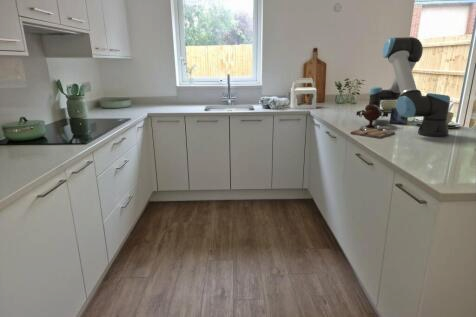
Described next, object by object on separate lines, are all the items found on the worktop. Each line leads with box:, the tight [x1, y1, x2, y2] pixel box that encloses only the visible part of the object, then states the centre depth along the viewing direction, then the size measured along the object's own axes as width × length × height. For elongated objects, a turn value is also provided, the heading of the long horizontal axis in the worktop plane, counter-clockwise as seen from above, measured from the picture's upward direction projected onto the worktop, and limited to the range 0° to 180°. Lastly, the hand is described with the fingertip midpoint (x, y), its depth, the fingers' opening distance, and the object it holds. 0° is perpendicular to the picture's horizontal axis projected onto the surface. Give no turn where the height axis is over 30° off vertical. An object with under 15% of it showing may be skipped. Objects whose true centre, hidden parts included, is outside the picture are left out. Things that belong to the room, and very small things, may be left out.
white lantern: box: [289, 77, 318, 110], centre depth 303 cm, size 22×13×28 cm, turn 92°
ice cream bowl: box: [362, 103, 381, 129], centre depth 208 cm, size 11×11×15 cm
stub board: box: [350, 125, 396, 139], centre depth 191 cm, size 18×18×4 cm
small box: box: [389, 107, 409, 125], centre depth 218 cm, size 11×6×10 cm, turn 68°
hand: (371, 115), depth 205 cm, fingers open, 12 cm apart
